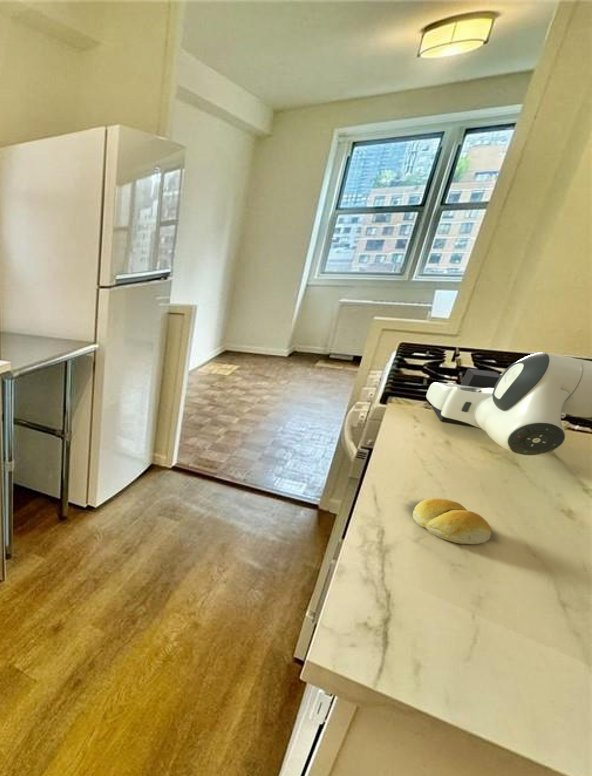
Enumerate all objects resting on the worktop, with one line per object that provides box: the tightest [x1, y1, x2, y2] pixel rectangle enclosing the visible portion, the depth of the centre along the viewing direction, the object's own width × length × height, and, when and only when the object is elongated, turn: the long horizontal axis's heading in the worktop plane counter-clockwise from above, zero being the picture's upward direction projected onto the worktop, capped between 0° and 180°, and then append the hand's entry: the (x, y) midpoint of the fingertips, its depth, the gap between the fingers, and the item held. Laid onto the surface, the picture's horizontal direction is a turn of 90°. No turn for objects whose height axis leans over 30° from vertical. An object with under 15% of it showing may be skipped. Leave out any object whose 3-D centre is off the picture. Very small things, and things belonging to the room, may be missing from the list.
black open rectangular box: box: [431, 405, 477, 428], centre depth 112 cm, size 10×10×4 cm
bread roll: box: [412, 497, 492, 545], centre depth 74 cm, size 8×9×4 cm
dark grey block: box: [459, 368, 502, 388], centre depth 110 cm, size 5×5×10 cm
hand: (476, 389), depth 110 cm, fingers open, 8 cm apart
